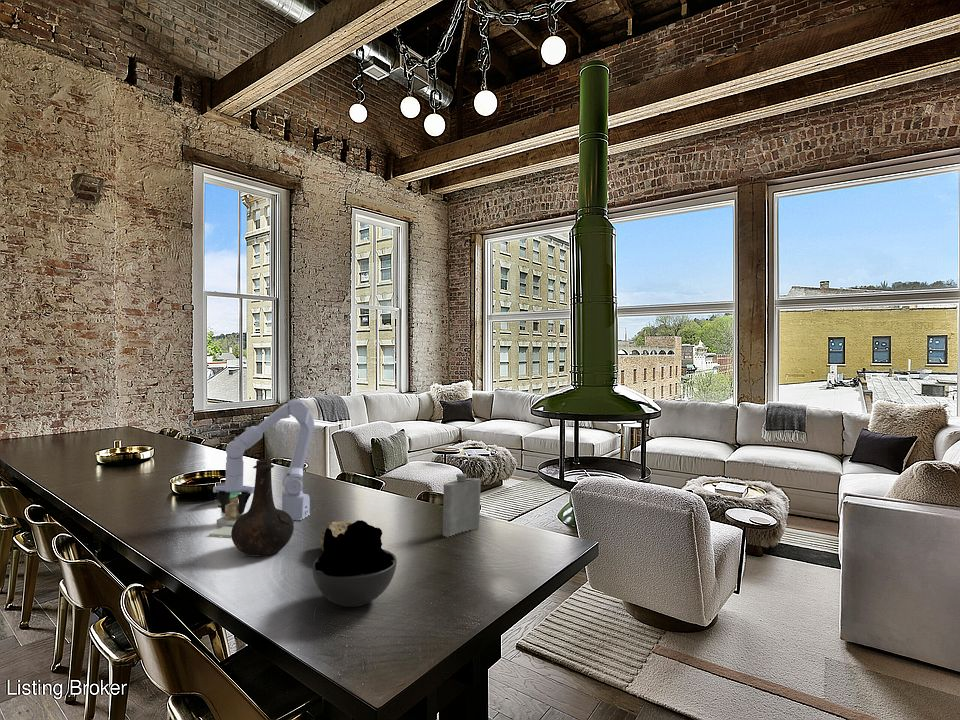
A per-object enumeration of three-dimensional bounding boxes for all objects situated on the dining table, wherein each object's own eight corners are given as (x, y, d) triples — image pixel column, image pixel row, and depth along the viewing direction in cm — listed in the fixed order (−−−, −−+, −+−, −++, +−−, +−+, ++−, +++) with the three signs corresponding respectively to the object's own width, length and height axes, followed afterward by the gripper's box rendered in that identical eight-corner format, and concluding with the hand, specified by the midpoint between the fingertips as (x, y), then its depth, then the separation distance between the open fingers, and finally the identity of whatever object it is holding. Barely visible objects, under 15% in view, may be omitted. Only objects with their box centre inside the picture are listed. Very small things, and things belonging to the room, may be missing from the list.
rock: (387, 560, 154) (382, 531, 152) (343, 584, 145) (337, 553, 143) (355, 535, 169) (350, 508, 167) (313, 555, 160) (308, 526, 158)
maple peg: (241, 522, 185) (242, 503, 185) (235, 525, 181) (235, 506, 181) (231, 521, 186) (232, 502, 186) (224, 525, 182) (225, 505, 182)
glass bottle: (271, 564, 147) (273, 467, 147) (216, 559, 151) (219, 463, 151) (304, 543, 164) (306, 456, 165) (255, 539, 168) (256, 453, 168)
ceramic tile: (248, 530, 177) (248, 527, 177) (234, 537, 169) (234, 535, 169) (223, 528, 178) (223, 526, 178) (209, 536, 170) (209, 533, 170)
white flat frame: (267, 521, 186) (267, 514, 186) (253, 529, 178) (254, 522, 178) (231, 519, 188) (232, 512, 188) (216, 527, 179) (216, 519, 179)
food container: (231, 508, 202) (232, 483, 202) (216, 508, 202) (216, 483, 202) (246, 500, 214) (247, 476, 214) (232, 500, 214) (232, 476, 214)
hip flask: (446, 537, 172) (447, 478, 173) (439, 534, 175) (440, 476, 176) (481, 528, 183) (482, 472, 183) (473, 525, 186) (474, 470, 186)
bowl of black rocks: (400, 584, 135) (402, 513, 135) (389, 623, 115) (391, 539, 115) (324, 584, 134) (325, 512, 135) (299, 623, 114) (301, 538, 115)
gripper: (259, 472, 187) (258, 510, 187) (221, 471, 188) (220, 508, 188) (249, 477, 180) (249, 515, 180) (209, 475, 181) (209, 514, 181)
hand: (233, 512), depth 183 cm, fingers open, 5 cm apart
